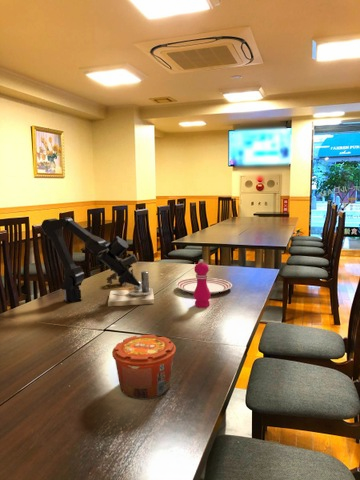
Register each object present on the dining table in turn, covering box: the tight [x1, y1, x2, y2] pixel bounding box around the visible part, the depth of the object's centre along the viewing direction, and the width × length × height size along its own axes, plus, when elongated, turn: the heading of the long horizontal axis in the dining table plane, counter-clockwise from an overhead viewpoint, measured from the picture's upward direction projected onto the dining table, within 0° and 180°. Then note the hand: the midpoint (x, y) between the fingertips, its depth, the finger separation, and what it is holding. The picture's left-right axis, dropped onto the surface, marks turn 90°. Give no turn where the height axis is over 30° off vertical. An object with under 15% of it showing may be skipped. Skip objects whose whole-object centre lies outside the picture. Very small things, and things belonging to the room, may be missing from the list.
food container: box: [111, 334, 177, 400], centre depth 94 cm, size 16×16×11 cm
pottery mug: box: [105, 272, 127, 288], centre depth 196 cm, size 12×10×8 cm
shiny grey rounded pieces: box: [118, 270, 150, 297], centre depth 169 cm, size 13×13×11 cm
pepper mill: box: [193, 259, 212, 309], centre depth 156 cm, size 7×7×20 cm
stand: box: [107, 287, 155, 307], centre depth 170 cm, size 20×18×2 cm
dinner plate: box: [175, 277, 233, 295], centre depth 182 cm, size 27×27×3 cm
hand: (139, 285), depth 164 cm, fingers closed
